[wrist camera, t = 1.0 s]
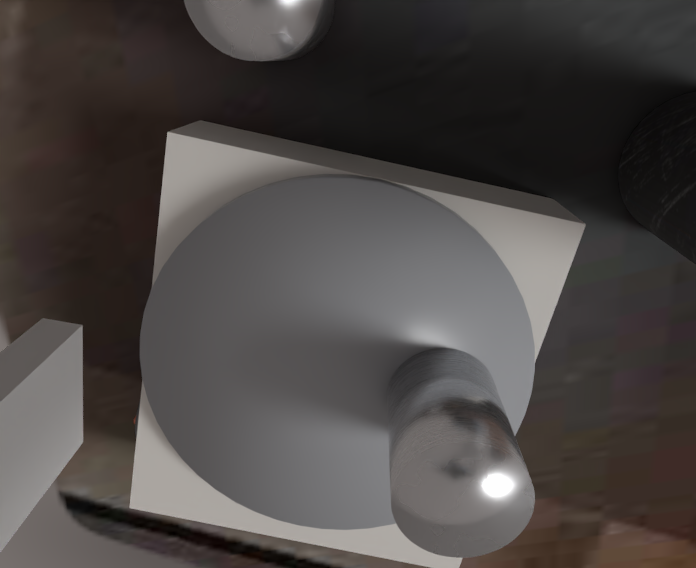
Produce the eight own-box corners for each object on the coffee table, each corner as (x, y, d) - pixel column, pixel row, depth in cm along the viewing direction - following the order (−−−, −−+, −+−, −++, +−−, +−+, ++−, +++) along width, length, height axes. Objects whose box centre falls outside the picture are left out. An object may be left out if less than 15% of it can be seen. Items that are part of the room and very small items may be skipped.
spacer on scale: (401, 337, 26) (410, 429, 20) (510, 360, 27) (554, 458, 20) (375, 430, 28) (376, 542, 22) (478, 451, 28) (509, 569, 22)
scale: (191, 118, 29) (147, 132, 24) (552, 198, 30) (593, 230, 24) (153, 448, 36) (113, 520, 31) (446, 507, 37) (459, 587, 31)
